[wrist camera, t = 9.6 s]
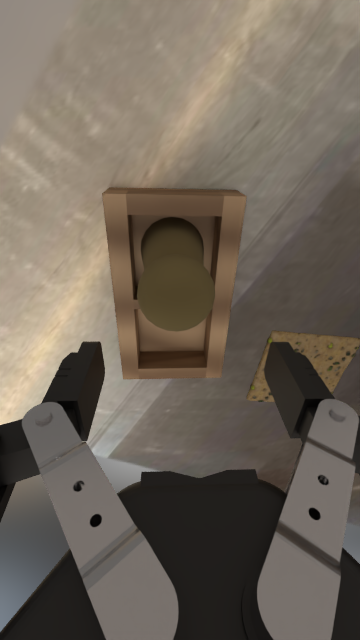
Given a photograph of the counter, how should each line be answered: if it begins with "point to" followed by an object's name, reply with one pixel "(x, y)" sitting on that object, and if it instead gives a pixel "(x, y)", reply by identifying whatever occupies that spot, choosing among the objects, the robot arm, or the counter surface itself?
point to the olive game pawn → (174, 276)
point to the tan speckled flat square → (320, 350)
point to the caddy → (127, 268)
